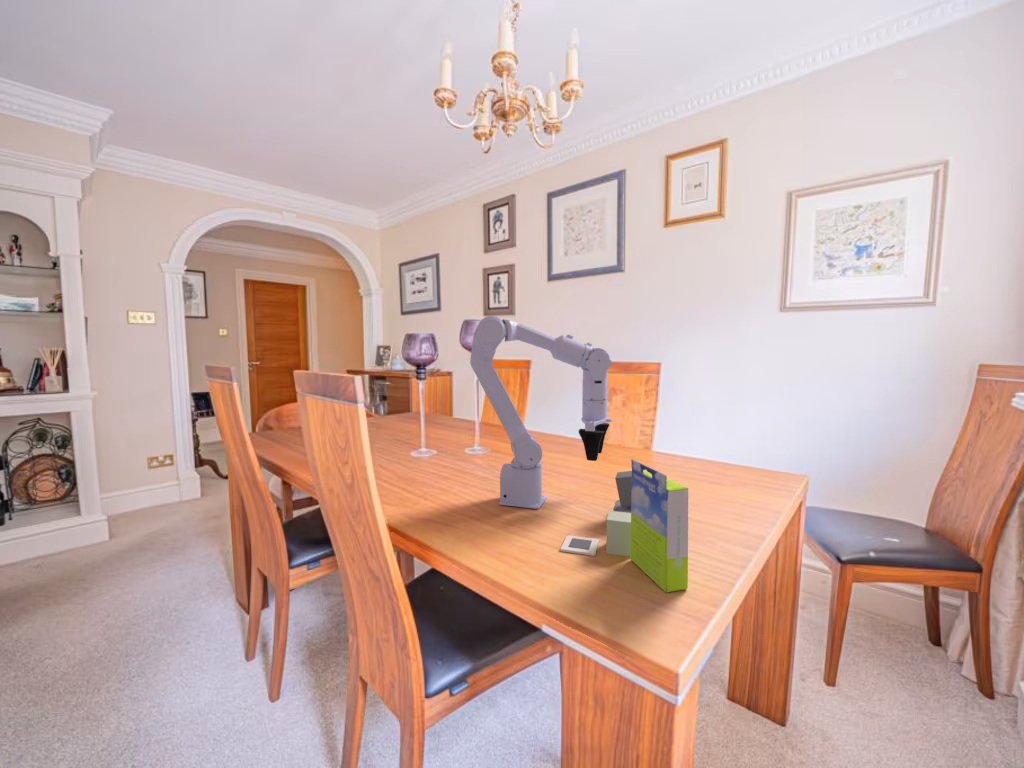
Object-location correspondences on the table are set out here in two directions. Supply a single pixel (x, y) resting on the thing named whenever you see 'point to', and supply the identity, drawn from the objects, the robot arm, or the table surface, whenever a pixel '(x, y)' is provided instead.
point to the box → (659, 527)
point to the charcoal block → (624, 487)
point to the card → (580, 545)
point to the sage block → (618, 533)
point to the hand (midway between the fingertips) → (594, 456)
